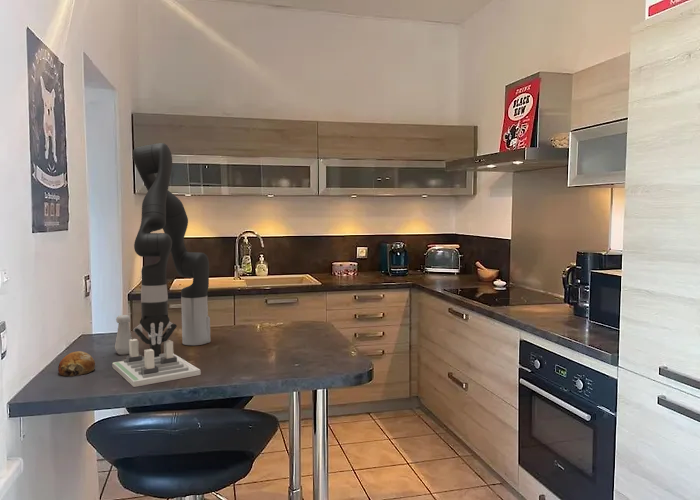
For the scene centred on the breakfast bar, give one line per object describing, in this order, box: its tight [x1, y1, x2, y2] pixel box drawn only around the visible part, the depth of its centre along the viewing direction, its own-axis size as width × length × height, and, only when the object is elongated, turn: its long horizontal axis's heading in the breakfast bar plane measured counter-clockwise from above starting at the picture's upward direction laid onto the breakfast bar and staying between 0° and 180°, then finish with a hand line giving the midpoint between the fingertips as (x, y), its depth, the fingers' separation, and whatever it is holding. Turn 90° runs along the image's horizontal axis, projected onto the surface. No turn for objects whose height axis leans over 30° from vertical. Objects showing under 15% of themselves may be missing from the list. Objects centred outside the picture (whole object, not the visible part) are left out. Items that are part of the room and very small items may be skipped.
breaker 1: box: [125, 338, 143, 363], centre depth 173 cm, size 4×3×7 cm
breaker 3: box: [161, 339, 177, 364], centre depth 171 cm, size 4×3×7 cm
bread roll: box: [57, 350, 96, 377], centre depth 169 cm, size 10×10×8 cm
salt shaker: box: [114, 314, 133, 356], centre depth 190 cm, size 6×6×13 cm
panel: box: [112, 352, 202, 388], centre depth 169 cm, size 19×24×2 cm
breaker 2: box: [141, 348, 158, 376], centre depth 160 cm, size 4×3×7 cm
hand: (155, 356), depth 169 cm, fingers closed
